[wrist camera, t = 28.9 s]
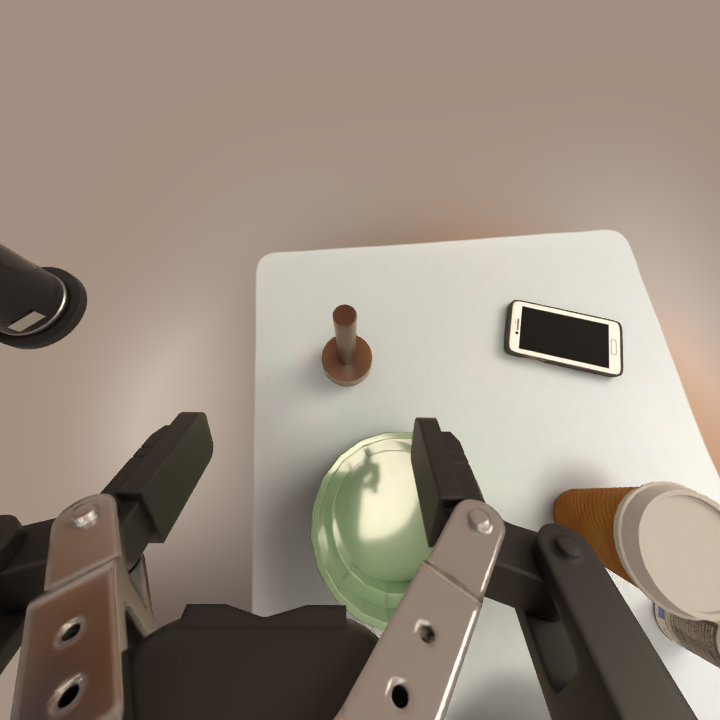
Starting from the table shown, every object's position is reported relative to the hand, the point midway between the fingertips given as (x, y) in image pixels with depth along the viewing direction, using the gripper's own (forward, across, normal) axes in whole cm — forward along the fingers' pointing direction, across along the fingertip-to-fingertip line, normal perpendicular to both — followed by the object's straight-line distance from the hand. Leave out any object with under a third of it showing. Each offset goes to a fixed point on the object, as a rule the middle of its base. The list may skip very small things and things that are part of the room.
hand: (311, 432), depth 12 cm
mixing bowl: (+13, -6, +22) cm, 27 cm away
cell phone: (+28, -29, +8) cm, 41 cm away
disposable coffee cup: (+13, -28, +23) cm, 38 cm away
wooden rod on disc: (+25, -1, +10) cm, 27 cm away
